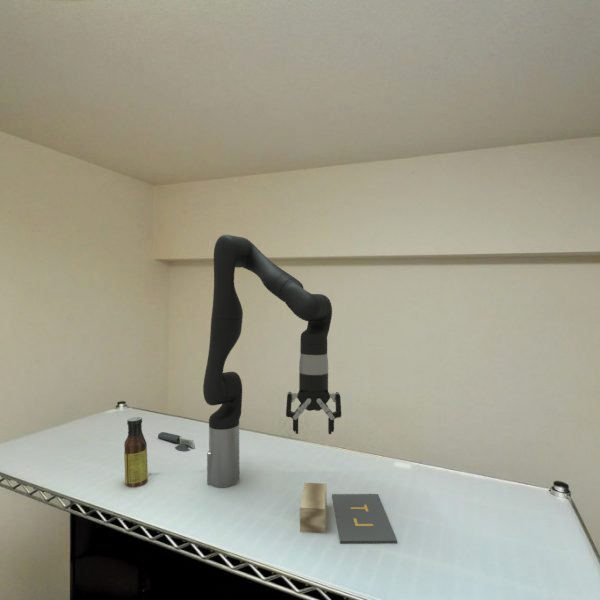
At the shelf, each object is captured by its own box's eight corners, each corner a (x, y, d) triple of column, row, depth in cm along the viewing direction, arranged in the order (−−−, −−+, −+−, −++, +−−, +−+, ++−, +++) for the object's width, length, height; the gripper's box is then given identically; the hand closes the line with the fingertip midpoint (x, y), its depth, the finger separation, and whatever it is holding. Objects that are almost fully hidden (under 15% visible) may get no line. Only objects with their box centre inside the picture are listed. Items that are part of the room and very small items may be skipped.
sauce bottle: (152, 482, 110) (152, 417, 111) (135, 492, 105) (135, 423, 105) (136, 478, 113) (136, 414, 113) (119, 487, 108) (119, 420, 108)
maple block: (299, 532, 86) (299, 507, 87) (304, 504, 98) (304, 482, 98) (324, 534, 86) (324, 508, 86) (326, 505, 98) (326, 483, 98)
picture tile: (340, 543, 82) (340, 540, 82) (332, 496, 102) (332, 494, 102) (397, 543, 82) (397, 540, 82) (378, 496, 102) (378, 493, 102)
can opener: (198, 452, 133) (198, 438, 133) (184, 458, 128) (184, 444, 128) (166, 441, 144) (166, 428, 144) (151, 446, 138) (151, 433, 138)
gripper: (285, 373, 90) (285, 438, 90) (342, 373, 90) (342, 438, 90) (286, 367, 98) (286, 427, 98) (339, 368, 98) (339, 428, 98)
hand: (313, 433), depth 94 cm, fingers open, 8 cm apart
